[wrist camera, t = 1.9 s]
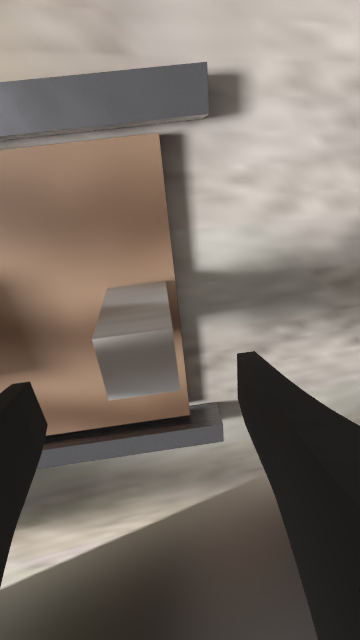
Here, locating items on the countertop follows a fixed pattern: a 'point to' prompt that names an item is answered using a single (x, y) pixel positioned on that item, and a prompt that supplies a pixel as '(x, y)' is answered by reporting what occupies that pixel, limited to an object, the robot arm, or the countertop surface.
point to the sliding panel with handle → (90, 283)
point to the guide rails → (99, 114)
